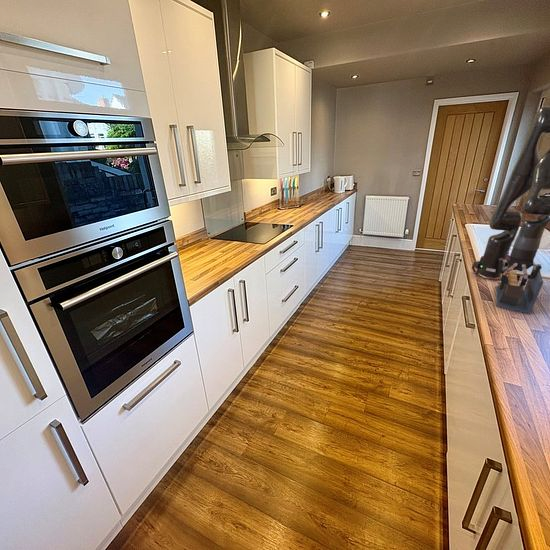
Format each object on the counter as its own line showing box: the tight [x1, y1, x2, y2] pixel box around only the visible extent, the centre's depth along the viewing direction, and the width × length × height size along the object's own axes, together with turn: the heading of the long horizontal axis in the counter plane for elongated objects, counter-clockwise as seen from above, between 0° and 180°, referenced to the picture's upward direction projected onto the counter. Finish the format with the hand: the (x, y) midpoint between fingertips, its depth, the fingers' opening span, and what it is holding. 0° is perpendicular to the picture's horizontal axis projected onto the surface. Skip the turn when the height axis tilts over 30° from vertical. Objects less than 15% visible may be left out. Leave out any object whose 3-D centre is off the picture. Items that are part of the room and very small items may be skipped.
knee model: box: [503, 252, 511, 269], centre depth 157 cm, size 9×8×25 cm
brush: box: [505, 269, 525, 299], centre depth 121 cm, size 22×5×3 cm, turn 145°
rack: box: [495, 266, 544, 315], centre depth 122 cm, size 20×11×14 cm, turn 145°
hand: (511, 284), depth 122 cm, fingers open, 5 cm apart
